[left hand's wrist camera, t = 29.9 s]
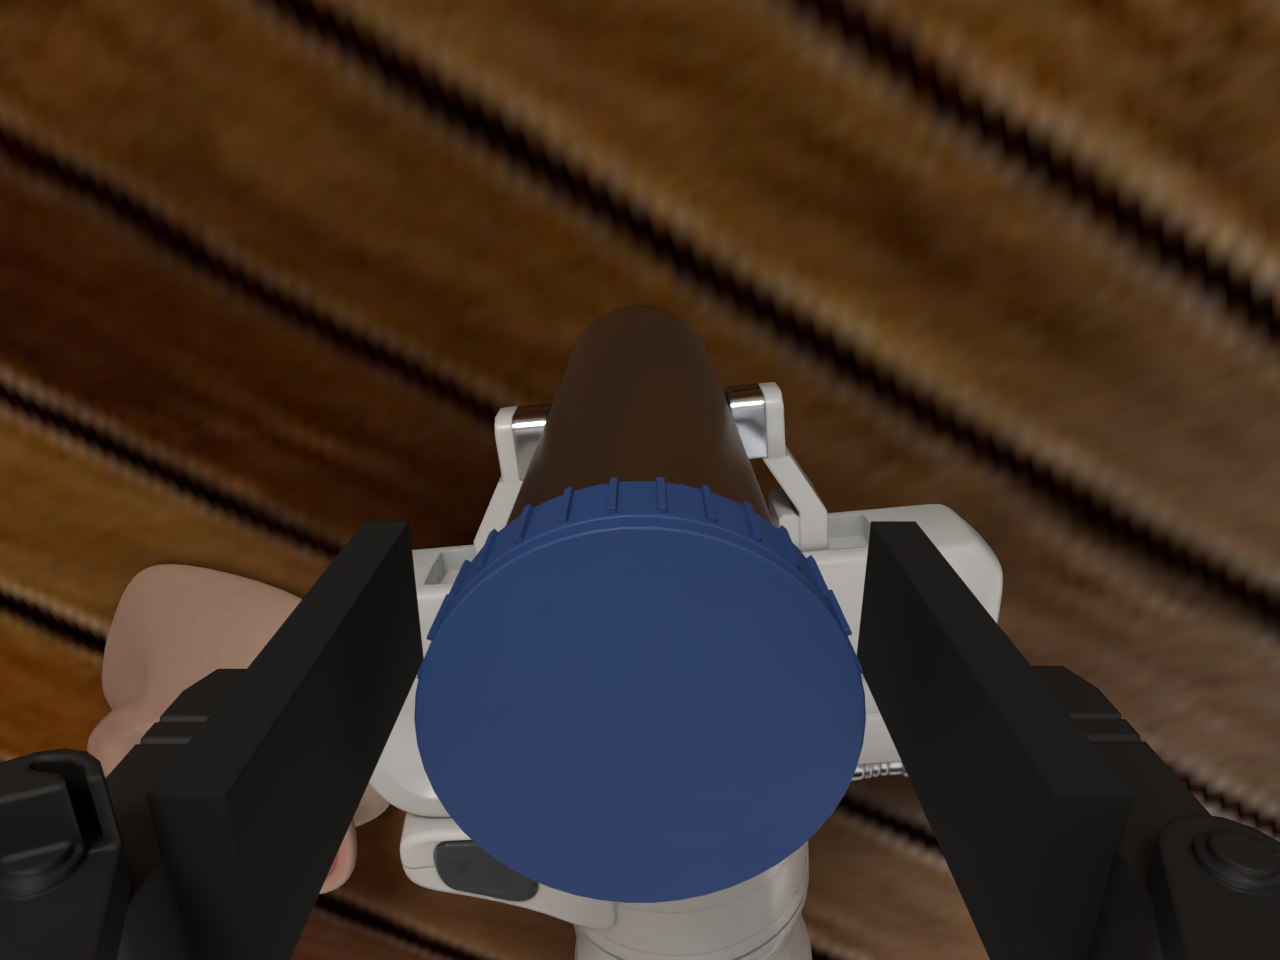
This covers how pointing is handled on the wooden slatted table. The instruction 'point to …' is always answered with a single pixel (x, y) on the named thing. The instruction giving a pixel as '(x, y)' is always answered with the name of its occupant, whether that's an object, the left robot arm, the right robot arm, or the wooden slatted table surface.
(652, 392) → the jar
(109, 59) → the wooden slatted table surface
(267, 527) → the wooden slatted table surface
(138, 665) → the anatomical model
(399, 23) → the wooden slatted table surface
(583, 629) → the lid
